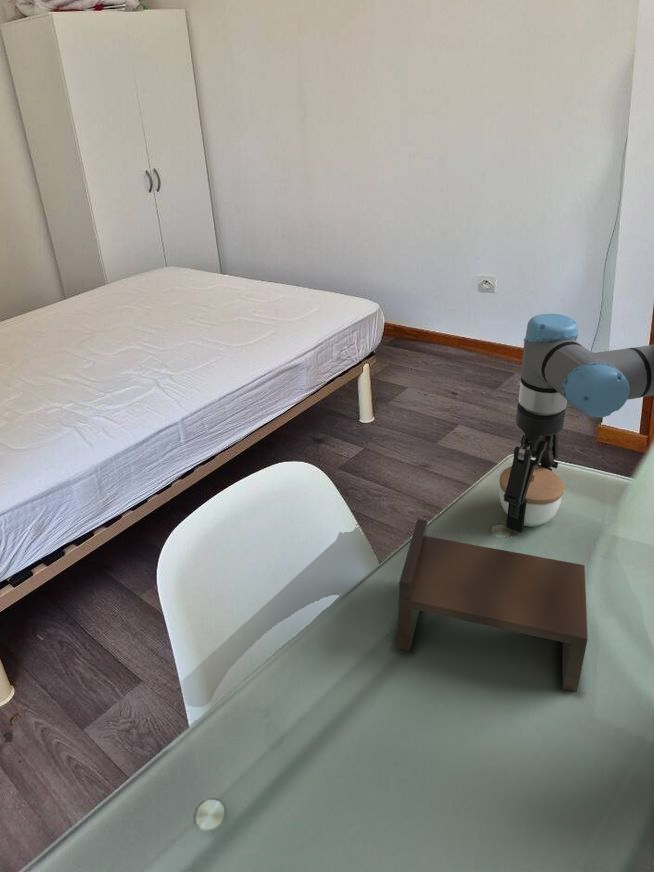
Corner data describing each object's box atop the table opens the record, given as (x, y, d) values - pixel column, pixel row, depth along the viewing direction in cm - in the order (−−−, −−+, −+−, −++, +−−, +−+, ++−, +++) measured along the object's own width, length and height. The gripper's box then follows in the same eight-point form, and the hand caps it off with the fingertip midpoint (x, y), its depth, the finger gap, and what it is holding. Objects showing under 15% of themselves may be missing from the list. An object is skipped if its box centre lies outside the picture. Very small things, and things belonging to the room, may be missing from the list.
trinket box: (564, 537, 118) (571, 493, 114) (500, 534, 120) (505, 490, 116) (552, 499, 128) (558, 457, 124) (492, 497, 130) (496, 455, 125)
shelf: (575, 616, 103) (587, 548, 97) (576, 693, 91) (591, 621, 85) (414, 583, 111) (417, 518, 105) (397, 649, 99) (399, 581, 93)
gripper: (545, 373, 124) (532, 474, 133) (489, 428, 108) (479, 538, 118) (588, 384, 119) (571, 488, 129) (536, 443, 104) (521, 556, 113)
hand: (527, 512), depth 123 cm, fingers closed on trinket box, 11 cm apart
